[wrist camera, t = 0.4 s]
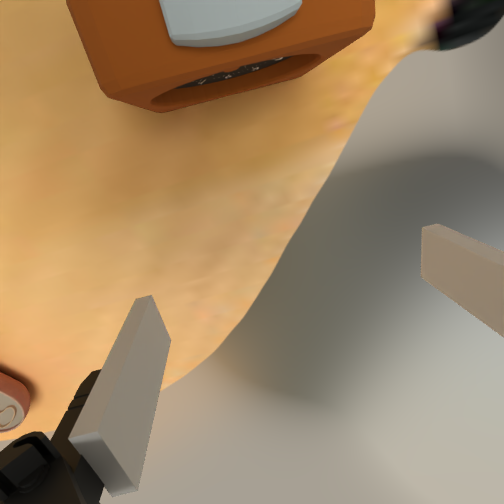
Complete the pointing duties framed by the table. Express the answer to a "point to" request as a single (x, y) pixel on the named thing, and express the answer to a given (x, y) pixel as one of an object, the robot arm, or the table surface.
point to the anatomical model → (12, 403)
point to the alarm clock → (210, 44)
